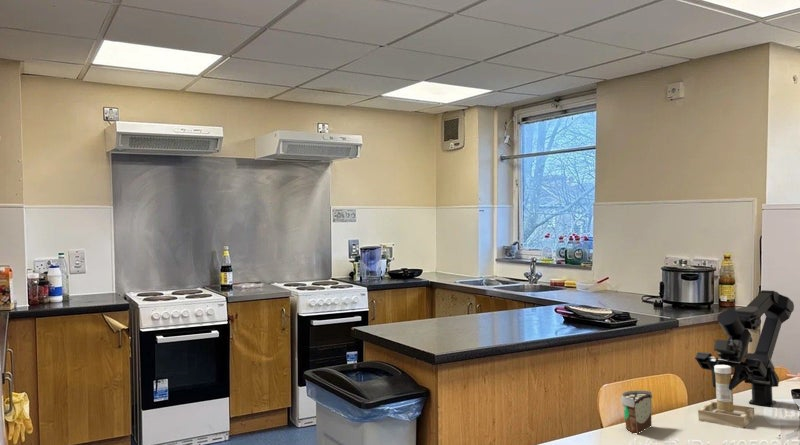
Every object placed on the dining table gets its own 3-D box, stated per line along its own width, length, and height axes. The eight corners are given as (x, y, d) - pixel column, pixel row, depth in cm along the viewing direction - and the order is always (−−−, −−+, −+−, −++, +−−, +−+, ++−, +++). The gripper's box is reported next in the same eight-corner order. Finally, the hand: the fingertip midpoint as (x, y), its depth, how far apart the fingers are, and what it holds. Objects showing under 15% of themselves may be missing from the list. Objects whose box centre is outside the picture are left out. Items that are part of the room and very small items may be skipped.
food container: (633, 421, 183) (631, 387, 183) (653, 425, 178) (652, 391, 179) (614, 431, 174) (612, 396, 174) (635, 436, 170) (633, 400, 170)
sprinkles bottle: (735, 410, 181) (732, 365, 181) (732, 414, 177) (729, 368, 178) (718, 408, 184) (715, 363, 184) (715, 412, 180) (712, 366, 181)
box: (711, 411, 190) (710, 401, 190) (754, 417, 182) (754, 407, 182) (698, 420, 181) (698, 410, 181) (743, 428, 173) (742, 417, 173)
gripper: (696, 326, 191) (680, 367, 184) (760, 332, 176) (745, 377, 169) (709, 347, 196) (694, 388, 189) (773, 355, 181) (759, 399, 174)
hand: (721, 388), depth 180 cm, fingers closed on sprinkles bottle, 4 cm apart
